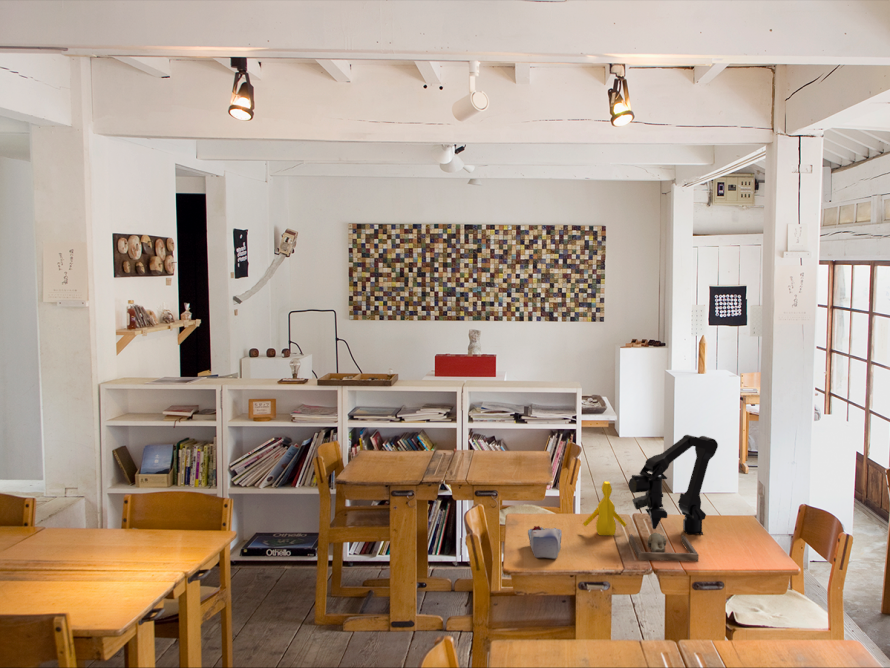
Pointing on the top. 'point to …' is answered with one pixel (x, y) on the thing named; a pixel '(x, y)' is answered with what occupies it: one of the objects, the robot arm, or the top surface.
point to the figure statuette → (605, 514)
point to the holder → (666, 556)
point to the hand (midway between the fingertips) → (654, 528)
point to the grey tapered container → (545, 542)
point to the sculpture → (657, 542)
